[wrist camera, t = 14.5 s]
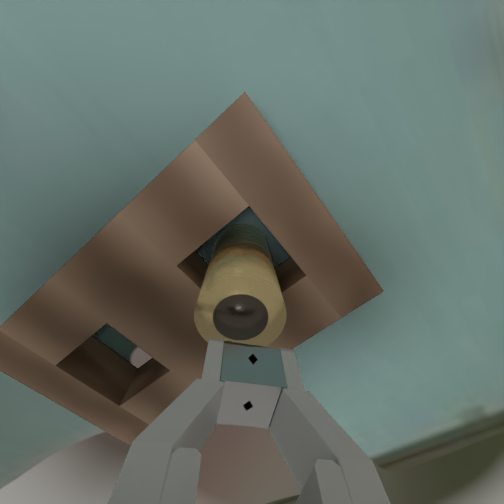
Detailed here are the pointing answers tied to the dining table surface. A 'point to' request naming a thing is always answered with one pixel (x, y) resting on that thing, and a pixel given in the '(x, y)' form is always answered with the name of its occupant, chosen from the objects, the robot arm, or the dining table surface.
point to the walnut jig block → (178, 278)
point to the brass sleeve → (240, 290)
